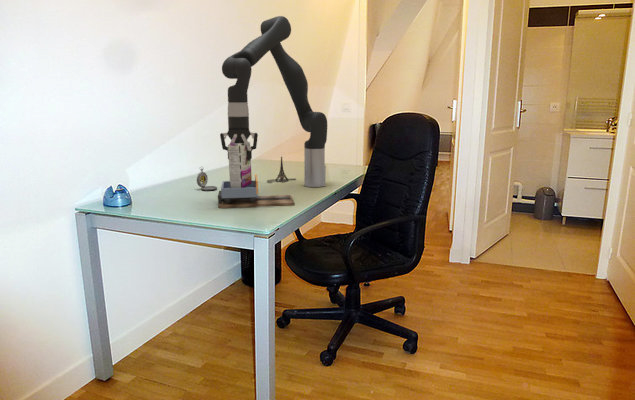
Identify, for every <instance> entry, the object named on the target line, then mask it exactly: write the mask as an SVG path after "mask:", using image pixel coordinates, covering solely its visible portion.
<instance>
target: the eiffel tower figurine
mask: <svg viewBox="0 0 635 400" xmlns="http://www.w3.org/2000/svg"><path fill="white" fill-rule="evenodd" d="M279 168H280V169H279V173H278V174H277V177H276V178H273V179H267V180H266V182H267V183H268V184H272V183H274V182H276V183H287V182H290V181H296V180H297V178H288V177H287V175H286V174H285V172H284V171H285V170H284V164H283V156H282V154H281V157H280V167H279Z"/></svg>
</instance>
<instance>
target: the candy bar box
mask: <svg viewBox="0 0 635 400" xmlns="http://www.w3.org/2000/svg"><path fill="white" fill-rule="evenodd" d="M248 143H249V145H250V146H251V141H248ZM227 147H228V151H227V156H228V155H229V160H228V171H229V181H230V188H245V187H246V186H248V185H250V184H251V183H252V181H253V179H252V159H250V161H248V148H247V146H246V145H245V143H234V144H230V143H229V144H228V145H227Z"/></svg>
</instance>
